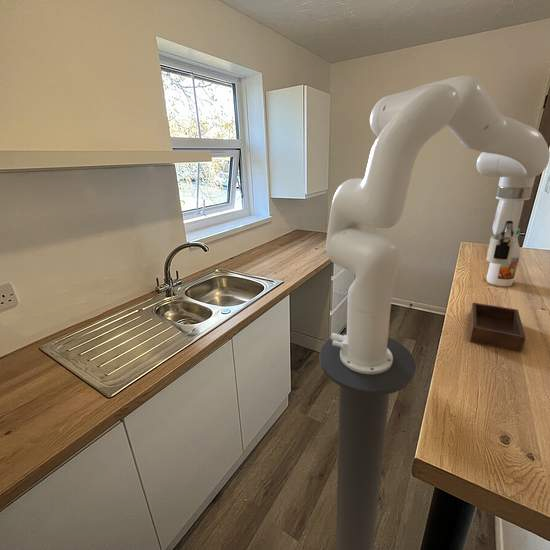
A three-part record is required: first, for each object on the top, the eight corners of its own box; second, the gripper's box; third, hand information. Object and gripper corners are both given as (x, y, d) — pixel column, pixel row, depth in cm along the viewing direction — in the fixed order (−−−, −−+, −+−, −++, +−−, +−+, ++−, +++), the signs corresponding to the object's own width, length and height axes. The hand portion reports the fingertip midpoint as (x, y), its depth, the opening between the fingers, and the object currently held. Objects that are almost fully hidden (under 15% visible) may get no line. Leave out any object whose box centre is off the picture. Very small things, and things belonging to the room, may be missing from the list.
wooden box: (470, 341, 79) (473, 327, 77) (470, 315, 90) (472, 302, 88) (521, 352, 73) (525, 337, 72) (514, 322, 85) (517, 309, 83)
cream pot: (486, 263, 89) (491, 240, 86) (485, 256, 94) (490, 234, 91) (511, 265, 86) (517, 242, 83) (509, 258, 91) (515, 236, 88)
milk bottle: (485, 284, 107) (497, 230, 99) (486, 276, 113) (498, 224, 105) (512, 288, 103) (527, 232, 95) (512, 280, 109) (526, 226, 101)
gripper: (494, 188, 91) (483, 245, 98) (499, 198, 77) (485, 263, 84) (526, 188, 87) (511, 247, 94) (536, 198, 74) (518, 266, 81)
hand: (499, 254), depth 89 cm, fingers closed on cream pot, 6 cm apart
